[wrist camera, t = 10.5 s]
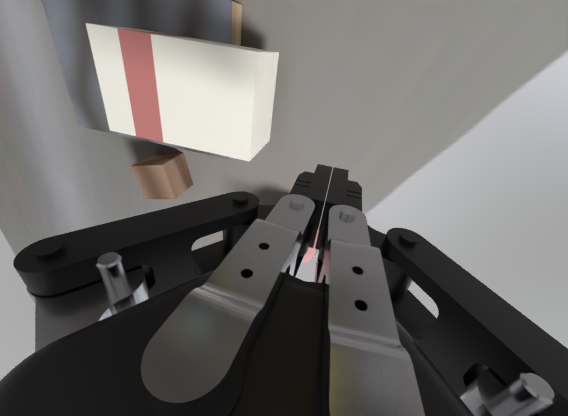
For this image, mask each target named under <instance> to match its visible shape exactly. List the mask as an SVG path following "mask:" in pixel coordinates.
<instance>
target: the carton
mask: <svg viewBox="0 0 568 416" xmlns="http://www.w3.org/2000/svg"><path fill="white" fill-rule="evenodd" d="M86 28H87V32H88V36H89V41H90V45H91V50H92V54H93V58H94V63H95V67H96V72H97V76H98V80H99V85H100V89H101V94H102V98H103V102H104V107H105V111H106V116H107V120H108V124H109V129H110V131H115V132H119V133H124V134H128V135H133V136H136V137H141V138H145V139H150V140H154V141H159V142H164V143H169V144H173V145H178V146H182V147H187V148H191V149H196V150H200V151H205V152H209V153H214V154H219V155H223V156H228V157H232V158H237V159H241V160H246V161H250V160H251V159H252V158H253V157H254V156H255V155H256V154H257V153H258V152H259V151H260V150H261V149H262V148H263V147H264V146H265V145H266V144H267V143H268V142H269V139H270V130H271V121H272V111H273V102H274V93H275V83H276V74H277V65H278V56H279V52H274V51H268V50H262V49H256V48H250V47H244V46H238V45H232V44H226V43H220V42H214V41H208V40H202V39H196V38H191V37H185V36H179V35H173V34H166V33H159V32H153V31H147V30H141V29H132V28H124V27H115V26H107V25H98V24H90V23H86Z"/></svg>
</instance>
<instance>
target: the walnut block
mask: <svg viewBox="0 0 568 416" xmlns="http://www.w3.org/2000/svg"><path fill="white" fill-rule="evenodd" d="M131 168H132V170H133V172H134V175H135V177H136V179H137V182H138V184H139V186H140V189H141V191H142V193H143V196H144V198H145V199H176V198H177V197H178V196H179V195H181V194H182V193H183V192H184V191H185V190H187V189H188V188H189V187H190V186H192V185H193V182H192V179H191V175H190V172H189V169H188V166H187V163H186V160H185V156H184V153H168V154H154V155H152V156H150V157H148V158H146V159H144V160H142V161H140V162H138V163H136V164H134V165H132V166H131Z"/></svg>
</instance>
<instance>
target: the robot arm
mask: <svg viewBox="0 0 568 416" xmlns="http://www.w3.org/2000/svg"><path fill="white" fill-rule="evenodd" d="M331 171H332V167H330V166H325V165H320V164H318V165H317V168H316V170H315V173H310V172H306V171H305V172H303V173H301V174H299V176H298V178H297V180H296V182H295V184H294V186H293V188H292V190H291V192H290V194H289V195H285V196H283V197H282V198H281V199H280V200H279V201H278V203H277V204H276V205H272V206H266V205H259V200H258V198H257V197H256V196H255V195H253V194H251V193H248V192H231V193H227V194H223V195H219V196H215V197H211V198H207V199H203V200H199V201H195V202H191V203H187V204H183V205H178V206H174V207H170V208H166V209H162V210H158V211H154V212H150V213H146V214H142V215H138V216H134V217H130V218H126V219H122V220H118V221H114V222H110V223H106V224H102V225H97V226H93V227H89V228H85V229H81V230H77V231H73V232H69V233H65V234H61V235H57V236H53V237H49V238H45V239H42V240H40V241H37V242H35V243H33V244H31V245H29V246H27V247H26V248H24V249H23V250H22V251H20V252H19V253H18V254H17V256H16V257H15V259H14V263H13V264H14V267H15V269H16V270H17V272H18V273H19V275H20V276H21V278H22V280H23V281H24V283H25V284H26V286H27V291H28V293H29V294H30V296H31V298H32V299H33V301H34V302H35V304H36V312H35V315H36V316H35V317H36V318H35V321H36V322H35V328H36V329H35V332H36V333H35V334H36V335H35V336H36V337H35V342H36V343H35V349H36V350H35V353H33V354H32V355H30V356H29V357H27V358H26V359H25V360H23V361H22V362H21V363H20V364H19V365H17V366H16V367H15V368H14V369H12V370H11V371H10V372H9V373H8V374H7V375H6V376H5V377H4V378H3V379H2V380H1V381H0V416H568V349H567V348H566V347H565V346H563V345H562V344H561V343H559V342H558V341H557V340H555V339H554V338H553V337H551V336H550V335H549V334H548V333H546V332H545V331H544V330H542V329H541V328H540V327H539V326H537V325H536V324H535V323H533V322H532V321H531V320H529V319H528V318H527V317H526V316H524V315H523V314H522V313H520V312H519V311H518V310H517V309H515V308H514V307H513V306H511V305H510V304H509V303H507V302H506V301H505V300H504V299H502V298H501V297H500V296H498V295H497V294H496V293H494V292H493V291H492V290H491V289H489V288H488V287H487V286H485V285H484V284H483V283H481V282H480V281H479V280H478V279H476V278H475V277H474V276H472V275H471V274H470V273H468V272H467V271H466V270H465V269H463V268H462V267H461V266H459V265H458V264H457V263H456V262H454V261H453V260H452V259H450V258H449V257H447V256H446V255H445V254H444V253H443V252H441V251H440V250H439V249H437V248H436V247H435V246H433V245H432V244H431V243H429V242H428V241H427V240H426V239H424V238H423V237H422V236H420V235H419V234H417V233H415V232H413V231H411V230H407V229H403V228H392V229H390V230H389V231H388V232H387V234H383V233H381V232H379V231H376V230H374V229H373V228H371V227H370V226H368V225H367V220H366V216H365V215H364V214H363V213H362V188H361V186H360V185H359V184H358V183H357V182H354V181H349V180H348V170H345V169H340V168H335V167H334V168H333V173H332V177H331V181H330V185H329V190H328V194H327V198H326V203H325V207H324V211H323V215H322V220H321V224H320V228H319V233H318V237H317V241H316V246H315V249H319V255H318V259H317V263H316V271H315V281H314V282H305V281H302V280H300V279H298V278H297V276H298V274H299V271H300V269H301V266H302V264H303V261H304V257H305V254H306V253H307V251H308V247H310V248H313V247H314V243H315V239H316V235H317V231H318V227H319V222H320V218H321V214H322V210H323V206H324V202H325V197H326V193H327V189H328V184H329V180H330V175H331ZM222 230H223V240H222V241H219V242H216V243H213V244H210V245H208V246H205V247H202V248H199V249H196V250H193V251H192V250H191V248H192V245H193V243H194V242H195V241H196V240H197V239H199V238H201V237H204V236H207V235H210V234H213V233H216V232H219V231H222ZM412 281H414V282H415V283H416V284H417V285H418V286H419V287H420V288H421V289H422V290H423V291H424V292H425V293H427V294H428V295H429V296H430V297H431V298H432V299H433V300H434V302H435V303H436V305H437V307H438V310H439V315H438V317H437V319H436V317H435V316H434V315H433V314H432V313H431V312H430V311H429V310H428V309H427V308H426V307H425V306H424V305H423V304H422V303H421V302H420V301H419V300H418V299H417V298H416V297H415V296H414V295H413V294H412V293H411V292H410V291H409V290H408V288H409V286H410V284H411V282H412Z"/></svg>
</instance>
